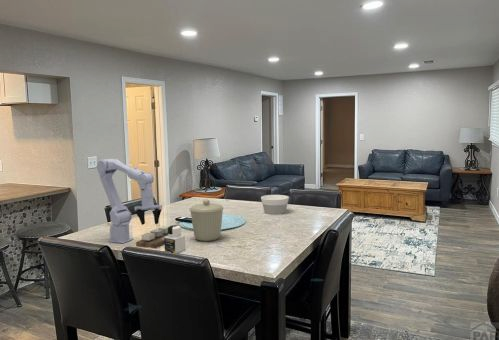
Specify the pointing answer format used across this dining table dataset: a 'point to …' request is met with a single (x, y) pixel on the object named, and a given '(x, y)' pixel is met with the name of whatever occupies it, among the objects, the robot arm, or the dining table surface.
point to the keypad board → (153, 241)
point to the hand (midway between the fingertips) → (149, 224)
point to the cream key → (148, 236)
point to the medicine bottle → (174, 240)
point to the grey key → (157, 232)
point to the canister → (206, 220)
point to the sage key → (164, 229)
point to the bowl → (275, 204)
